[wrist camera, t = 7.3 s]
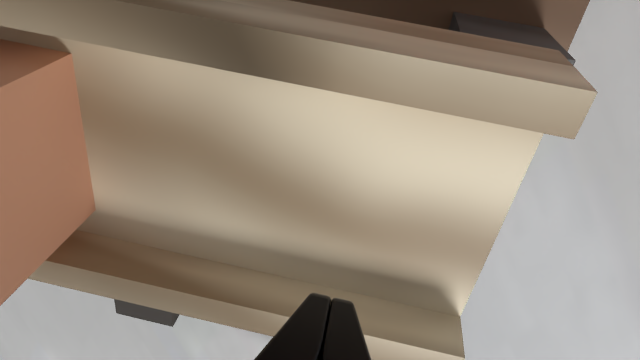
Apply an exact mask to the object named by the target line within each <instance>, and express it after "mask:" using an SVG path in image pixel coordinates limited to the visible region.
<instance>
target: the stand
mask: <svg viewBox="0 0 640 360" xmlns="http://www.w3.org/2000/svg"><path fill="white" fill-rule="evenodd" d="M290 1H295V2H301V3H306V4H311V5H317V6H322V7H328V8H333V9H338V10H344V11H349V12H354V13H360V14H365V15H371V16H376V17H381V18H387V19H392V20H398V21H403V22H408V23H414V24H419V25H425V26H430V27H435V28H441V29H446V30H452V31H457V32H462V33H468V34H473V35H478V36H484V37H489V38H495V39H500V40H505V41H511V42H516V43H522V44H527V45H532V46H538V47H543V48H549V49H554V50H559V51H560V52H561V53H562V54H563V55H564V56H565V57H566V58H567V60H568V61H569V62H570V63H571V64H572V65H574V63H575V59H574V58H573V57H572V56H571V55H570V54H569V53H568V52H567V51H568V49H569V47H570V44H571V42H572V40H573V38H574V35H575V33H576V31H577V28H578V26H579V24H580V22H581V19H582V17H583V15H584V13H585V10H586V8H587V6H588V3H589V1H590V0H290ZM114 300H115V307H116V313H118V314H122V315H126V316H131V317H135V318H139V319H143V320H147V321H151V322H155V323H160V324H164V325H168V326H172V327H173V325H174V323H175V322H176V320H177V318H178V316H179V314H176V313H172V312H167V311H163V310H159V309H155V308H151V307H146V306H142V305H138V304H134V303H129V302H125V301H121V300H117V299H114Z"/></svg>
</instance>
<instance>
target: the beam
mask: <svg viewBox="0 0 640 360" xmlns="http://www.w3.org/2000/svg"><path fill="white" fill-rule="evenodd" d="M0 39H3V40H8V41H13V42H18V43H23V44H28V45H33V46H38V47H42V48H47V49H52V50H57V51H62V52H67V53H72V59H73V65H74V72H75V78H76V85H77V91H78V98H79V104H80V111H81V117H82V124H83V130H84V137H85V143H86V150H87V156H88V163H89V169H90V176H91V182H92V189H93V195H94V202H95V208H96V210H95V211H94V212H93V213H92V214H91V215H90V216H89V217H88V218H87V219H86V220H85V221H84V222H83V223H82V224H81V225H80V226H79V227H78V228H77V229H76V230H75V231H74V232H73V233H72V234H71V235H70V236H69V237H68V238H67V239H66V240H65V241H64V242H63V243H62V244H61V245H60V246H59V247H58V248H57V249H56V250H55V251H54V252H53V253H52V254H51V255H50V256H49V257H48V258H47V259H46V260H45V261H44V262H43V263H42V264H41V265H40V266H39V267H38V268H37V269H36V270H35V271H34V272H33V273H32V274H31V275H30V276H29V277H28V279H32V280H36V281H40V282H45V283H49V284H53V285H57V286H62V287H66V288H70V289H74V290H79V291H83V292H87V293H91V294H96V295H100V296H104V297H108V298H112V299H117V300H121V301H125V302H129V303H134V304H138V305H142V306H146V307H151V308H155V309H159V310H163V311H167V312H172V313H176V314H180V315H184V316H189V317H193V318H197V319H201V320H206V321H210V322H214V323H218V324H223V325H227V326H231V327H235V328H239V329H244V330H248V331H252V332H256V333H261V334H265V335H269V336H273V337H274V336H275V334H276V333H277V332H278V331H279V330H280V329H281V327H282V326H283V325H284V324H285V323H286V321H287V320H288V319H289V318H290V317H291V315H292V314H293V313H294V312H295V311H296V310H297V308H298V307H299V306H300V305H301V304H302V302H303V301H304V300H305V299H306V298H307V296H308V295H309V294H311V293H318V294H322V295H326V296H329V297H330V298H331V301H332V299H333V298H339V299H344V300H348V301H351V302H352V303H353V304H354V306H355V309H356V312H357V316H358V319H359V322H360V325H361V328H362V332H363V335H364V338H365V341H366V344H367V348H368V351H369V354H370V357H371V360H464V359H465V355H464V346H463V337H462V328H461V319H460V316H461V314H462V312H463V310H464V307H465V305H466V303H467V301H468V299H469V296H470V294H471V292H472V290H473V288H474V285H475V283H476V281H477V279H478V277H479V274H480V272H481V270H482V268H483V266H484V263H485V261H486V259H487V257H488V255H489V252H490V250H491V248H492V246H493V244H494V241H495V239H496V237H497V235H498V233H499V231H500V228H501V226H502V224H503V222H504V220H505V217H506V215H507V213H508V211H509V209H510V206H511V204H512V202H513V200H514V198H515V195H516V193H517V191H518V189H519V187H520V184H521V182H522V180H523V178H524V176H525V173H526V171H527V169H528V167H529V165H530V162H531V160H532V158H533V156H534V154H535V151H536V149H537V147H538V145H539V143H540V140H541V138H542V136H543V134H549V135H555V136H560V137H565V138H570V139H575V137H576V135H577V133H578V131H579V129H580V127H581V125H582V123H583V121H584V119H585V117H586V115H587V113H588V111H589V109H590V107H591V105H592V103H593V101H594V99H595V97H596V95H597V93H598V92H597V91H596V90H595V89H594V88H593V87H592V86H591V84H590V83H589V82H588V81H587V80H586V79H585V78H584V77H583V76H582V75H581V74H580V73H579V71H578V70H577V69H576V68H575V67H574V66H573V65H572V64H571V63H570V62H569V61H568V60H567V58H566V57H565V56H564V55H563V54H562V53H561V52H560V51H559V50H554V49H549V48H543V47H538V46H532V45H527V44H522V43H516V42H511V41H505V40H500V39H495V38H489V37H484V36H478V35H473V34H468V33H462V32H457V31H452V30H446V29H441V28H435V27H430V26H425V25H419V24H414V23H408V22H403V21H398V20H392V19H387V18H381V17H376V16H371V15H365V14H360V13H354V12H349V11H344V10H338V9H333V8H328V7H322V6H317V5H311V4H306V3H301V2H295V1H290V0H0ZM330 305H331V304H330Z"/></svg>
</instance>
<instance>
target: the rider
mask: <svg viewBox="0 0 640 360" xmlns="http://www.w3.org/2000/svg"><path fill="white" fill-rule="evenodd" d="M95 210H96V208H95V202H94V195H93V189H92V182H91V176H90V169H89V163H88V156H87V150H86V143H85V137H84V130H83V124H82V117H81V111H80V104H79V98H78V91H77V85H76V78H75V72H74V65H73V59H72V53H67V52H62V51H57V50H52V49H47V48H42V47H38V46H33V45H28V44H23V43H18V42H13V41H8V40H3V39H0V306H1V305H2V304H3V303H4V302H5V301H6V300H7V299H8V298H9V297H10V296H11V295H12V294H13V293H14V292H15V291H16V290H17V288H18V287H19V286H20V285H21V284H22V283H23V282H24V281H25V280H26V279H27V278H28V277H29V276H30V275H31V274H32V273H33V272H34V271H35V270H36V269H37V268H38V267H39V266H40V265H41V264H42V263H43V262H44V261H45V260H46V259H47V258H48V257H49V256H50V255H51V254H52V253H53V252H54V251H55V250H56V249H57V248H58V247H59V246H60V245H61V244H62V243H63V242H64V241H65V240H66V239H67V238H68V237H69V236H70V235H71V234H72V233H73V232H74V231H75V230H76V229H77V228H78V227H79V226H80V225H81V224H82V223H83V222H84V221H85V220H86V219H87V218H88V217H89V216H90V215H91V214H92V213H93V212H94V211H95Z"/></svg>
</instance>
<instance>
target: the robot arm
mask: <svg viewBox="0 0 640 360" xmlns="http://www.w3.org/2000/svg"><path fill="white" fill-rule="evenodd" d="M330 304H331V305H330ZM254 360H371V357H370V354H369V351H368V348H367V344H366V341H365V338H364V335H363V332H362V328H361V325H360V322H359V319H358V316H357V312H356V309H355V306H354V304H353V303H352V302H351V301H348V300H344V299H339V298H333V299H332V301H331V298H330V297H329V296H326V295H322V294H318V293H311V294H309V295H308V296H307V298H306V299H305V300H304V301H303V302H302V304H301V305H300V306H299V307H298V308H297V310H296V311H295V312H294V313H293V314H292V315H291V317H290V318H289V319H288V320H287V321H286V323H285V324H284V325H283V326H282V327H281V329H280V330H279V331H278V332H277V333H276V334H275V336H274V337H273V338H272V339H271V340H270V342H269V343H268V344H267V345H266V346H265V348H264V349H263V350H262V351H261V352H260V353H259V355H258V356H257V357H256V358H255V359H254Z"/></svg>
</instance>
